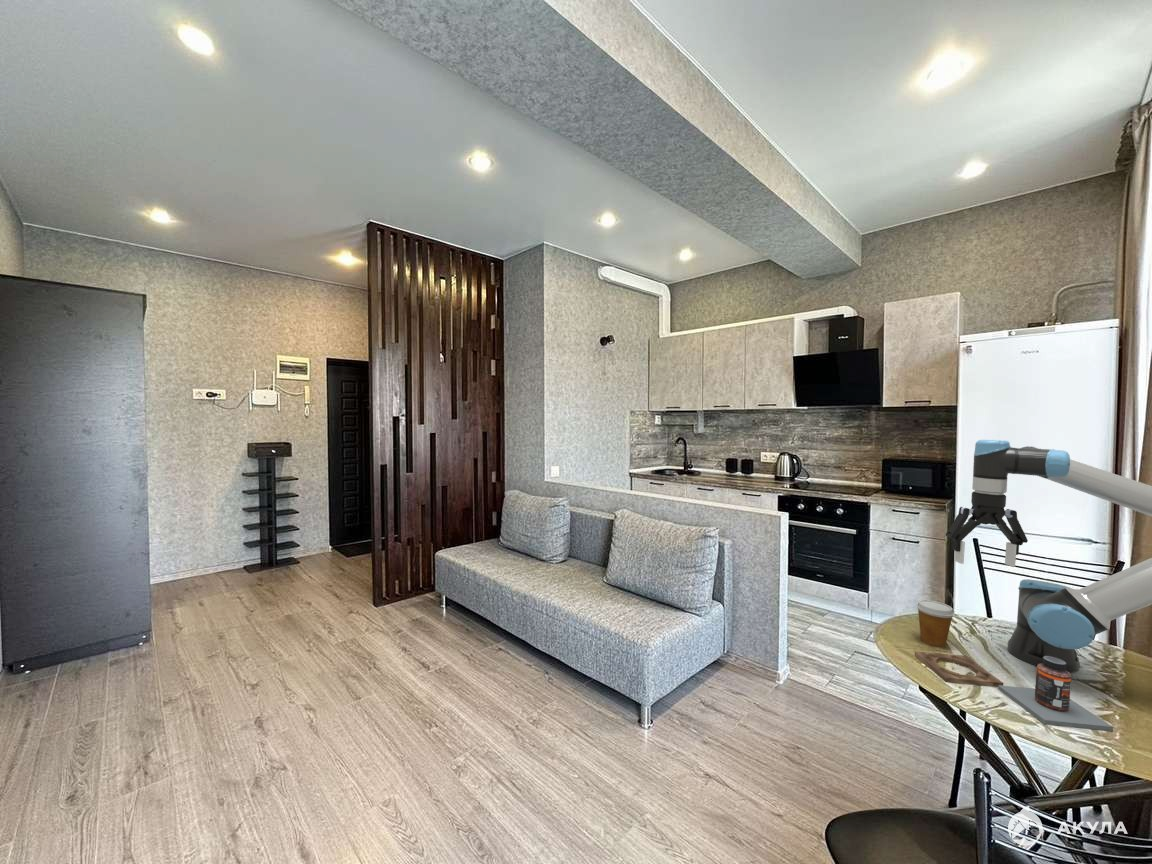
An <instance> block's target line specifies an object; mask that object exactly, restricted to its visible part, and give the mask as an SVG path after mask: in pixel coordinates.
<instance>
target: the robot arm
mask: <svg viewBox="0 0 1152 864" xmlns="http://www.w3.org/2000/svg"><path fill="white" fill-rule="evenodd" d="M974 445H975V446H974V453H973V467H972V468H973V469H972V471H973V473H972V490H973V491H972V492H971V500H970V501H971V502H970V503H971V505H972V506H971V508H967V507H964V506H960V507H959V509H958V514H957V515H956V516H955V519H954V520H953V522H952V523H951V525H950V526H949V527H948V530H947V531H946V533H945V536H946V537H947V538H950V539H952V551H954V561H955V562H956V563H958V564H961V565H964V563H965V548H966V547H965V545H966V542H965V541H963V540H964V539H965V538H966V537H967V536H968V535H969V534H971V532H972V531H973V530H974V529H976V528H977V527H978V526H980V525H992V526H993V525H994V526H996V527H997V529H999V530H1000V532H1001V533H1002V534H1003V535H1004V536H1005V538H1006V539H1007V540H1008V542H1007V541H1006V542H1005V553H1004V554H1005V559H1004V565H1006V566H1009V567H1012V568H1015V567H1016V559H1017V556H1018V555H1019V553H1020V546H1023V545H1024V543H1025V544H1026V543H1028V541H1029V540H1028V538H1027V535H1026V533H1025V531H1024V530H1023V527H1022V526H1021V523H1020V521H1019V519H1018V514H1017V513H1018V512H1017V511H1016V510H1015V509H1014V510H1013V509H1010V508H1007V509H1005V507H1006V505H1007V495H1006V493H1007V492H1008V475H1009V474H1012V475H1023V476H1024V475H1026V476H1036V477H1040V478H1043V479H1045V480H1049V481H1052V482H1054V483H1056V484H1060V485H1062V486H1065V487H1068V488H1070V489H1071V488H1072V489H1074V490H1076V491H1079V492H1083V493H1085V494H1088V495H1091V496H1093V497H1097V498H1098V499H1101V500H1104V501H1107V502H1110V503H1113V504H1115V505H1119V506H1122V507H1123V508H1127V509H1130V510H1132V511H1135V512H1137V513H1140V514H1144V515H1146V516H1150V517H1152V485H1150V484H1146V483H1144V482H1141V481H1139V480H1138V481H1137V480H1134V479H1132V478H1128V477H1125V476H1122V475H1119V474H1115V473H1113V472H1110V471H1108V470H1103V469H1101V468H1098V467H1094V466H1092V465H1088V464H1085V463H1083V462H1080V461H1076V460H1074V459H1071V456H1070V453H1069V452H1068V451H1066V450H1061V449H1053V448H1052V449H1049V448H1048V449H1047V448H1046V449H1045V448H1039V447H1038V448H1037V447H1035V446H1029V445H1028V446H1023V447H1011V445H1010V441H1008V440H1001V439H1000V440H999V439H978V440H977V441H976V442H975V444H974ZM969 516H970V517H969ZM1004 517H1005V518H1006V521H1007V522H1006V521H1005V520H1004V519H1003V518H1004ZM1007 523H1008V524H1009V526H1010V527H1009V526H1008V525H1007ZM1017 588H1018V589H1017V590H1019V591H1018V605H1017V615H1016V616H1017V617H1016V618H1017V619H1016V626H1015V629H1014V631H1013V632H1012V634H1011V637H1010V638H1009V639H1008V641H1007V647H1006V648H1007V649H1006V650H1007V651H1008V652H1009V653H1010V654H1011V655H1012V656H1014V657H1015V658H1017V659H1019V660H1021V661H1023V662H1026V663H1029V664H1031V665H1033V666H1036V667H1037V665H1038V664H1041V663H1043V657H1044V656H1050V657H1055V658H1058V659H1061V660H1063V661H1064V662H1066V670H1067V671H1068V672H1069V673H1074V672H1078V671H1079V669H1080V659H1079V657H1078V654H1077V650H1079V649H1083V648H1086V647H1089V645H1090V644H1091V643H1092V642H1093V641H1094V638H1095V636H1096V635H1099V634H1101V633H1104V632H1105V631H1108V630H1110V627H1111V621H1113V620H1116V619H1118V618H1121V617H1123V616H1125V615H1128V614H1129V615H1130V614H1131V613H1133V612H1136V611H1138V610H1141V609H1144V608H1146V607H1149V606H1151V605H1152V557H1150V558H1148V559H1145V560H1144V561H1141V562H1139V563H1136V564H1134V565H1132V566H1129V567H1127V568H1125V569H1122V570H1121V571H1119V572H1116V573H1113V574H1111V575H1109V576H1107V577H1104V578H1102V579H1099V580H1098V581H1094V582H1093V583H1091V584H1088V585H1086V586H1084V587H1082V588H1079V589H1078V588H1072V587H1070V586H1066V585H1063V584H1058V583H1055V582H1049V581H1042V580H1036V579H1027V578H1025V579H1022V580H1020V582H1019V586H1018V587H1017Z"/></svg>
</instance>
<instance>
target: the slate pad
mask: <svg viewBox="0 0 1152 864" xmlns="http://www.w3.org/2000/svg"><path fill="white" fill-rule="evenodd" d="M997 689H998V690H999V691H1000V692H1001V693H1003V694H1004V695H1006V696H1007V697H1008V698H1009V699H1011V700H1012V701H1014V702H1015V703H1016V704H1017V705H1018V706H1020V707H1021V708H1022V709H1024V710H1025V711H1027V712H1028V713H1029V714H1030V715H1032V717H1034V718H1036V719H1037V720H1038V721H1040V722H1041V723H1043V724H1044V725H1050V726H1059V727H1069V728H1080V729H1088V730H1098V731H1108V732H1109V731H1110V732H1113V731H1114V726H1113V725H1111V724H1109V723H1108V722H1106V721H1105V720H1104V719H1102V718H1100V717H1098V716H1097V715H1096V714H1094V713H1093V712H1091V711H1090V710H1088V709H1086V708H1085V707H1084V706H1082V705H1081V704H1079V703H1078V702H1076V701H1075V700H1072V699H1071V698H1070V701H1069V703H1070V704H1069V709H1068V710H1067V711H1058V710H1054V709H1051V708H1049V707H1046V706H1044V705H1042V704H1040V703H1039V702H1038V701H1037V700H1036V699H1035V687H1034V688H1031V687H1023V686H1022V687H1021V686H1010V685H1003V686H1002V685H998V687H997Z"/></svg>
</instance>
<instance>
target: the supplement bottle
mask: <svg viewBox="0 0 1152 864" xmlns="http://www.w3.org/2000/svg"><path fill="white" fill-rule="evenodd" d="M1035 673H1036V675H1035V687H1034V689H1035V699H1036V700H1037V701H1038V702H1039V703H1040V704H1042V705H1044V706H1046V707H1049V708H1051V709H1054V710H1058V711H1067V710H1068V709H1069V704H1070V703H1069V701H1070V699H1071V690H1072V689H1071V687H1072V675H1071V672H1068V671H1067V670H1066V662H1064V661H1063V660H1061V659H1058V658H1055V657H1050V656H1044V657H1043V663H1041V664H1038V665H1037V666H1036V671H1035Z"/></svg>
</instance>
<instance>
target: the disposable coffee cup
mask: <svg viewBox="0 0 1152 864" xmlns="http://www.w3.org/2000/svg"><path fill="white" fill-rule="evenodd" d="M915 606H916V608H917V611H918V612H917V613H918V622H919V634H920V640H921V641H922V642H923V643H925V644H927V645H930V646H933V647H937V648H944V646H945V647H946V646H947V645H946V644H947V641H948V637H949V632H950V630H951V629H950V627H951V623H952V620H953V617H954V616H955V612H954V611H953V608H952V606H950V605H948V604H946V603H943V602H939V601H935V600H931V599H920V600H918V601H917V603H916V605H915Z"/></svg>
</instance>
